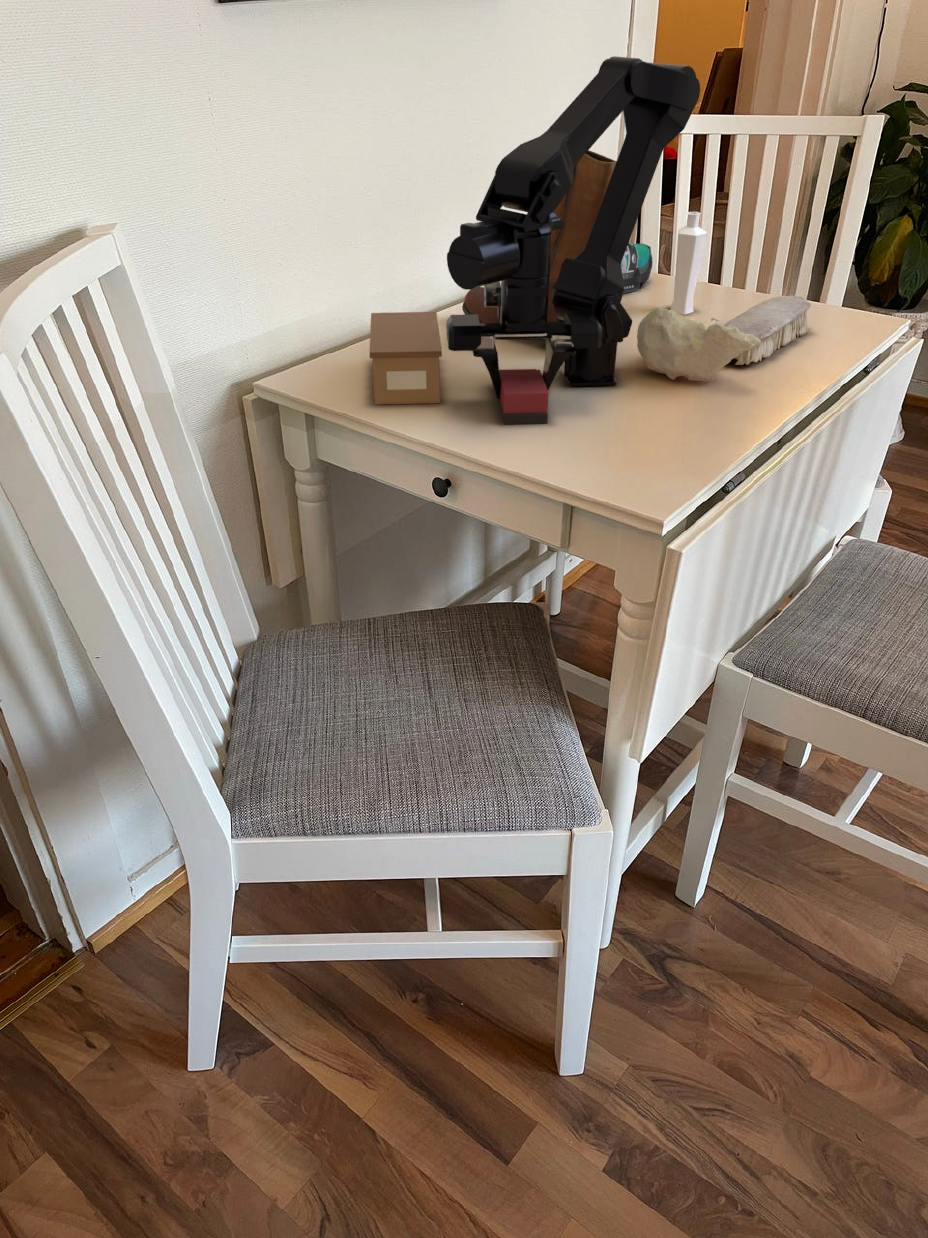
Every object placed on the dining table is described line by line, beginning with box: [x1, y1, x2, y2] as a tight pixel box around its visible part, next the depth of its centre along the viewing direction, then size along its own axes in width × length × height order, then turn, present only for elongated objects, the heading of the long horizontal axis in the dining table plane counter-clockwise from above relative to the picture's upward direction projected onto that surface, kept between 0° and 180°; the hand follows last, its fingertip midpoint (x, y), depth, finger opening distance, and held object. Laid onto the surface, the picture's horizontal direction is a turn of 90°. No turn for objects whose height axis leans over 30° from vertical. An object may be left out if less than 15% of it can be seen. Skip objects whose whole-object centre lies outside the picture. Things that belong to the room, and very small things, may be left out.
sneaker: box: [621, 242, 653, 294], centre depth 162 cm, size 9×24×15 cm, turn 134°
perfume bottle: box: [669, 211, 708, 316], centre depth 152 cm, size 5×4×15 cm
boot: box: [461, 149, 617, 348], centre depth 138 cm, size 25×9×27 cm, turn 39°
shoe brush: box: [723, 295, 812, 366], centre depth 141 cm, size 24×8×5 cm, turn 143°
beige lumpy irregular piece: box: [636, 307, 761, 383], centre depth 130 cm, size 15×7×15 cm
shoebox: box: [369, 311, 443, 405], centre depth 128 cm, size 9×16×7 cm, turn 4°
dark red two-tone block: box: [497, 368, 550, 425], centre depth 122 cm, size 5×12×4 cm, turn 4°
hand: (520, 397), depth 123 cm, fingers closed on dark red two-tone block, 5 cm apart
